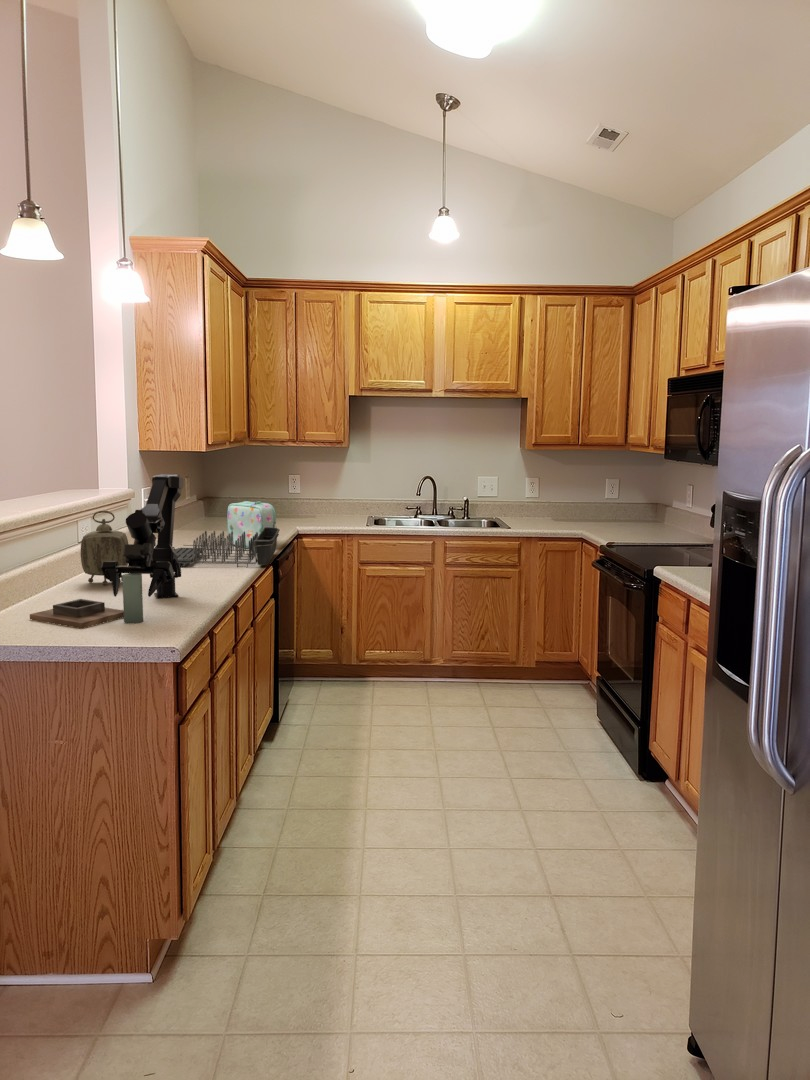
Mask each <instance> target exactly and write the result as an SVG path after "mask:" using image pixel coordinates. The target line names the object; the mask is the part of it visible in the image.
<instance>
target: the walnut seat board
mask: <svg viewBox="0 0 810 1080" xmlns="http://www.w3.org/2000/svg"><path fill="white" fill-rule="evenodd" d="M105 606H106V605H105V601H104V602H103V601H98V600H90V599H85V598H84V599H83V598H79V599H78V598H77V599H75V600H69V601H65V602H61V603H56V604H53V605H52V608H51V609H46V610H43V611H39V612H38V611H37V612H33V613H29V620H30V619H32V620H31V621H35V620H38V621H37V622H41V621H42V623H46V622H49V623H48V624H52V623H55V624H54V625H58V624H61V625H60V626H63V625H67V626H66V627H69V626H73V627H72V628H75V627H79V628H78V629H80V628H82V629H85V628H84V627H86V628H89V627H88V626H90V627H93V626H92V625H94V626H96V624H97V625H100V623H101V624H104V623H103V622H105V623H108V622H112V621H115V619H116V620H118V618H119V619H123V618H124V609H118V608H117V609H116V608H110V607H105ZM122 617H123V618H122ZM111 620H112V621H111ZM107 621H108V622H107Z"/></svg>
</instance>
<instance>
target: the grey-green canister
mask: <svg viewBox="0 0 810 1080" xmlns="http://www.w3.org/2000/svg"><path fill="white" fill-rule="evenodd" d="M122 581H123V582H122ZM122 581H121V582H122V601H123V602H122V603H123V604H122V605H123V610H124V617H123V623H124V622H125V623H124V624H128V623H134V624H140V623H142V621H143V622H144V606H143V605H144V601H143V600H144V599H143V574H139V573H123V574H122Z"/></svg>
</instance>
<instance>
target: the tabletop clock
mask: <svg viewBox="0 0 810 1080" xmlns="http://www.w3.org/2000/svg"><path fill="white" fill-rule="evenodd" d="M103 513H105V514H110V515H111V516H112V519H111V520H106V519H105V518H102V520H101V521H100V520H97V519H95V516H97V514H98V515H99V514H103ZM115 518H116V517H115V515H114V513H113V512H111V511H109V510H99V511H96V512H95V513H94V514H93V515H92V520H93V521H94V522H95V523H99V525H98V526H97V527H96V529H95V531H94V530H93V531H90V532H88V533H86V534H84V535H83V536H82V538H81V541H80V562H81V567H82V571H83V572H84V573H85V574H87V575H90V577H89V578H88V580H87V582H88V583H89V584H90V583H91V584H92V583H93V582H94V576H103V581H102V585H104V586H107V585H108V584H109V581H107V579H106V578H105V576H104V574H103V572H102V570H101V565H102V563H103V562H104V561H118V564H119V566H128V563H126V561H125V560H126V557H124V556H123V554H124V545H125V544H129V539H128V536H127V535H126V532H123V531H120V530H113V528H112V526H111V525H110V523H112V522H113V521H114V520H115ZM122 575H123V574H122ZM122 575H121V578H120V580H121V582H122V583H123V581H122Z"/></svg>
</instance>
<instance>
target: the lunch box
mask: <svg viewBox="0 0 810 1080" xmlns="http://www.w3.org/2000/svg"><path fill="white" fill-rule="evenodd" d="M226 513H227V515H226V517H227V519H226V521H227V524H226V525H227V527H226V528H227V535H228V538H229V533H230V534H231V531H233V544H234V546H235V540H237V538H239V547H240V542H241V541H242V533H244V531H245V540H246V549H249V540H250V544H251V538H252V542H253V536H254V535H255V534H256V532H257V533H258V536H259V534H260V533H261V532H262V530H263V529H264V527H269V528H278V527H277V516H276V515H277V513H276V509H275V507H274V506H273V504H270V503H267V502H261V501H260V500H259V501H248V500H246V501H245V500H244V501H241V502H240V501H239V502H236V503H235V502H233V503H230V504H229V505H228V507H227V512H226ZM240 536H241V539H240ZM228 538H227V539H228ZM245 540H244V541H245ZM242 542H243V541H242ZM253 547H254V546H253ZM253 550H254V548H253Z"/></svg>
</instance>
